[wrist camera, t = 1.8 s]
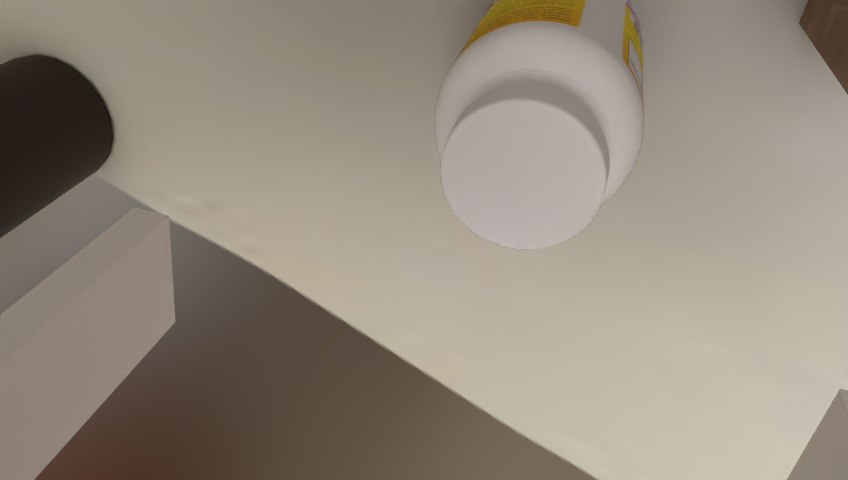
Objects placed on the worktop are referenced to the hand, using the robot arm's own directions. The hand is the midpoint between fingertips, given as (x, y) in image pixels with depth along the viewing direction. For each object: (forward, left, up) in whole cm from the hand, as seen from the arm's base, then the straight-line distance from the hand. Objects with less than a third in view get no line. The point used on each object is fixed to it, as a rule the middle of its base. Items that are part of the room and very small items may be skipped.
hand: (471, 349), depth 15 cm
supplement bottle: (0, 0, -20) cm, 20 cm away
